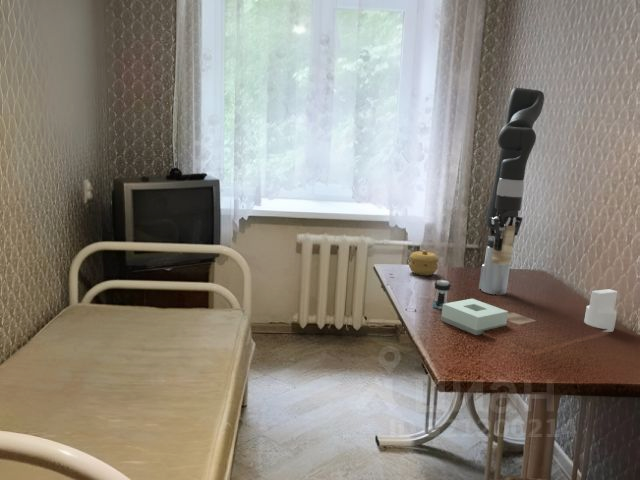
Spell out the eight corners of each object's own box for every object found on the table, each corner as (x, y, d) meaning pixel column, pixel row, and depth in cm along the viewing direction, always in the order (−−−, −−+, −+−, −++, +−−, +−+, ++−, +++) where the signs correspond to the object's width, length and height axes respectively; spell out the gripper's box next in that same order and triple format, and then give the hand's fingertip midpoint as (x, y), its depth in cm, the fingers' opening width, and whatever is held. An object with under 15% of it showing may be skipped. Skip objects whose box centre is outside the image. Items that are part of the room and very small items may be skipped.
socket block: (440, 320, 189) (442, 303, 188) (470, 314, 197) (472, 298, 196) (476, 335, 178) (478, 317, 177) (505, 328, 186) (508, 311, 185)
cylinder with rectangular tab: (601, 333, 188) (607, 296, 186) (577, 323, 196) (583, 288, 194) (620, 330, 193) (626, 294, 190) (596, 321, 200) (602, 286, 198)
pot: (430, 279, 238) (433, 255, 236) (403, 274, 244) (405, 250, 242) (440, 274, 248) (443, 250, 246) (414, 268, 254) (416, 245, 252)
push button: (452, 309, 201) (455, 281, 199) (451, 314, 196) (455, 285, 194) (432, 306, 202) (435, 278, 200) (430, 311, 197) (434, 282, 195)
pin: (491, 262, 186) (496, 224, 183) (499, 261, 188) (504, 223, 186) (502, 265, 182) (507, 226, 180) (510, 264, 185) (515, 225, 183)
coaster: (495, 318, 195) (495, 315, 194) (512, 315, 200) (512, 312, 200) (518, 327, 188) (519, 324, 187) (535, 323, 193) (536, 320, 193)
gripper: (512, 192, 189) (505, 246, 192) (484, 192, 180) (477, 249, 183) (533, 195, 183) (526, 251, 186) (505, 196, 174) (498, 254, 177)
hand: (502, 249), depth 184 cm, fingers closed on pin, 4 cm apart
